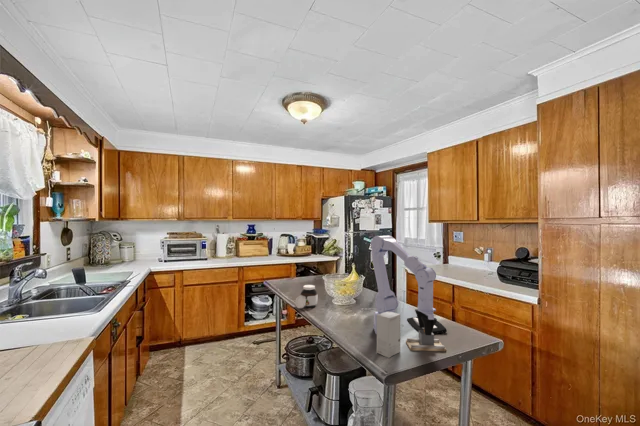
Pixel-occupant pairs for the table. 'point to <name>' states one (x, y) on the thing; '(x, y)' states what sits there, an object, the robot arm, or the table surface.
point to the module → (425, 338)
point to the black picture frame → (415, 324)
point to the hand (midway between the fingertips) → (425, 331)
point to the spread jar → (307, 297)
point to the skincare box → (388, 334)
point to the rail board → (415, 345)
